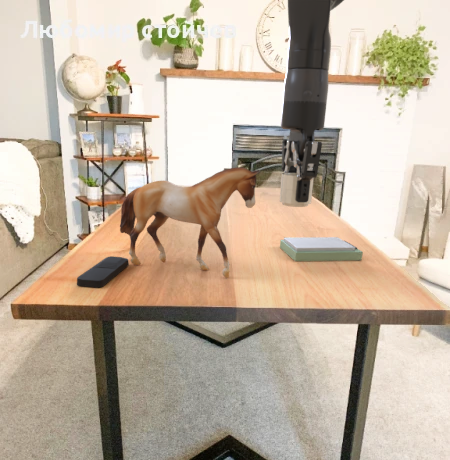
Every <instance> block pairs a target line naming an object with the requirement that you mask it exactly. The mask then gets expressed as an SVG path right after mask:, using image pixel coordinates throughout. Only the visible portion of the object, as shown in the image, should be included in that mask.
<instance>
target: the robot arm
mask: <svg viewBox="0 0 450 460" xmlns="http://www.w3.org/2000/svg"><path fill="white" fill-rule="evenodd" d="M344 1H345V0H287V18H288V35H289V36H288V38H289V40H288V48H287V59H286V71H285V72H286V73H285V78H284V83H283V91H282V104H281V105H282V106H281V116H280V117H281V119H280V128H281V129H283V130H289V134H288V138H283V139H282V142H281V143H282V144H281V145H282V147H281V167H280V168H281V172H283V173H297V179H298V180H300V181H298V180H297V187H296V198H295V200H296V201H297V202H307V201H308V199H309V189H310V181H312V179H313V178H314V179H316V178H317V177H318V171H319V167H320V166H319V165H320V160H321V155H322V149H323V142H322V141H315V131H322V130H324V129H325V121H326V112H327V104H328V103H327V102H328V93H329V69H330V61H331V53H332V52H331V51H332V37H331V32H330V19H331V18H330V17H331V12H332V11H333V10H335V8H337V7H338V6H340V5H341V4H342V3H343V2H344Z"/></svg>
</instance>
